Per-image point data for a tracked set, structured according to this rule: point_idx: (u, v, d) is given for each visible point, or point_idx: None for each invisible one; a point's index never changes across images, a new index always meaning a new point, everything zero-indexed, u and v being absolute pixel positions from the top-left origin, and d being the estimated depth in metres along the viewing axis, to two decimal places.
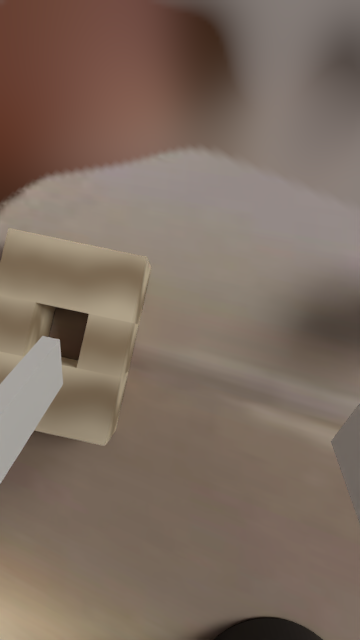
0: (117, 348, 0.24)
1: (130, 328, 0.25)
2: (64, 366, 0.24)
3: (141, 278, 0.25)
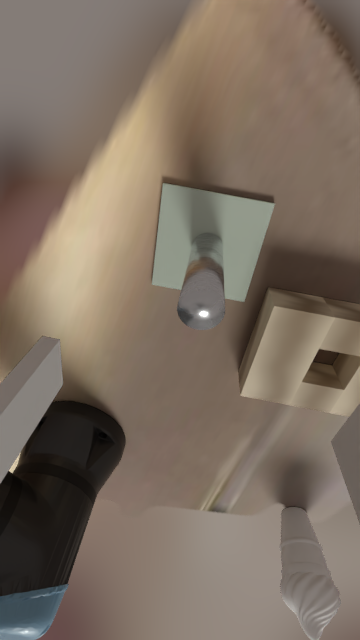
0: (312, 404, 0.33)
1: (325, 411, 0.34)
2: (304, 375, 0.31)
3: None
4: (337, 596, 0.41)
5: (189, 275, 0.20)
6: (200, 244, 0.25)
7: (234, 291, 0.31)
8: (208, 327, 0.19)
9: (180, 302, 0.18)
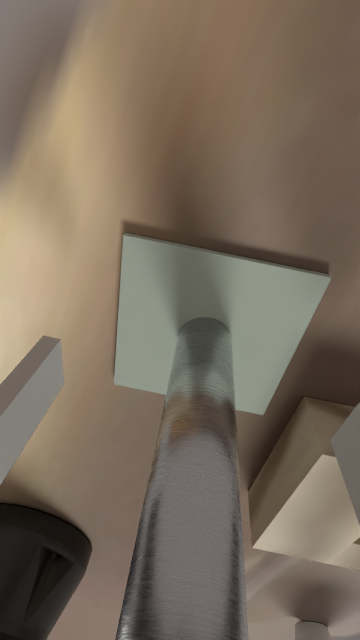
0: None
1: None
2: (358, 536, 0.19)
3: None
4: None
5: (157, 500, 0.08)
6: (191, 358, 0.13)
7: (247, 401, 0.19)
8: None
9: None
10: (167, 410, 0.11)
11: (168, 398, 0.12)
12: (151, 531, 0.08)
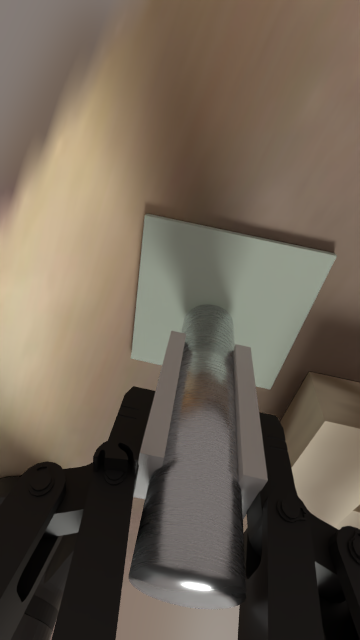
0: None
1: None
2: (358, 504, 0.20)
3: None
4: None
5: (165, 460, 0.09)
6: (195, 341, 0.14)
7: (255, 375, 0.20)
8: (204, 607, 0.08)
9: (135, 573, 0.07)
10: None
11: None
12: (160, 484, 0.09)
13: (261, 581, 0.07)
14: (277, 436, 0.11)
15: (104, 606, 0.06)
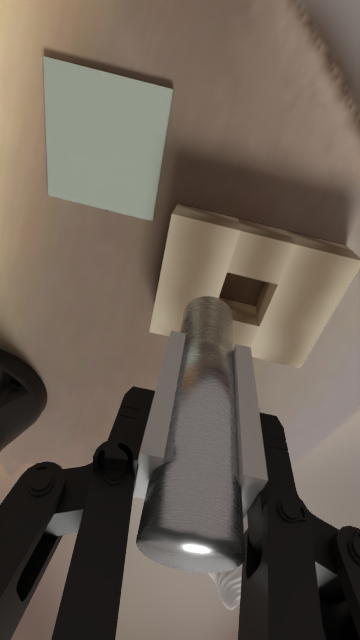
0: None
1: None
2: None
3: (282, 363, 0.30)
4: None
5: (168, 437, 0.10)
6: (196, 330, 0.15)
7: (139, 207, 0.27)
8: (206, 571, 0.09)
9: (142, 537, 0.08)
10: None
11: None
12: (164, 458, 0.09)
13: (262, 581, 0.07)
14: (277, 436, 0.11)
15: (103, 606, 0.06)
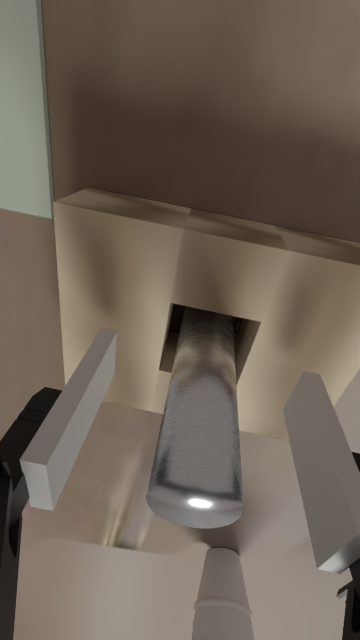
0: None
1: None
2: (159, 356, 0.17)
3: (278, 436, 0.19)
4: None
5: (174, 409, 0.11)
6: (197, 318, 0.16)
7: (26, 196, 0.16)
8: (208, 526, 0.10)
9: (152, 492, 0.09)
10: (179, 355, 0.14)
11: (179, 347, 0.14)
12: (170, 426, 0.10)
13: None
14: None
15: None
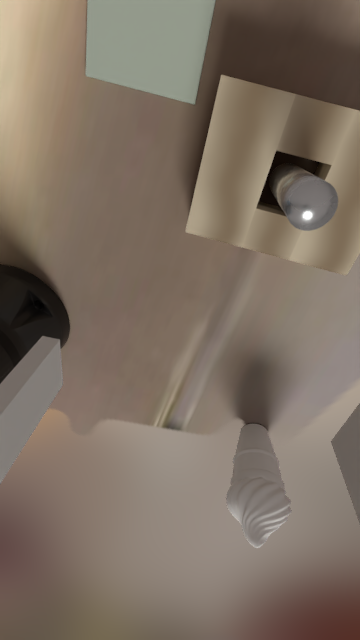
0: (268, 246, 0.28)
1: (283, 257, 0.28)
2: (259, 196, 0.26)
3: (327, 269, 0.28)
4: (287, 503, 0.36)
5: (293, 179, 0.20)
6: (288, 167, 0.25)
7: (182, 87, 0.25)
8: (314, 228, 0.19)
9: (292, 196, 0.18)
10: (282, 176, 0.23)
11: (280, 177, 0.24)
12: (294, 181, 0.19)
13: None
14: None
15: None
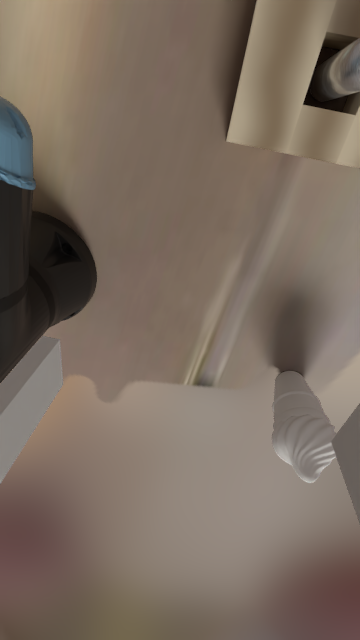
0: (314, 149, 0.27)
1: (330, 161, 0.27)
2: (306, 89, 0.25)
3: None
4: None
5: (359, 38, 0.19)
6: None
7: None
8: None
9: None
10: (337, 54, 0.22)
11: (333, 58, 0.22)
12: None
13: None
14: None
15: None
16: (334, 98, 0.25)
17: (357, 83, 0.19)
